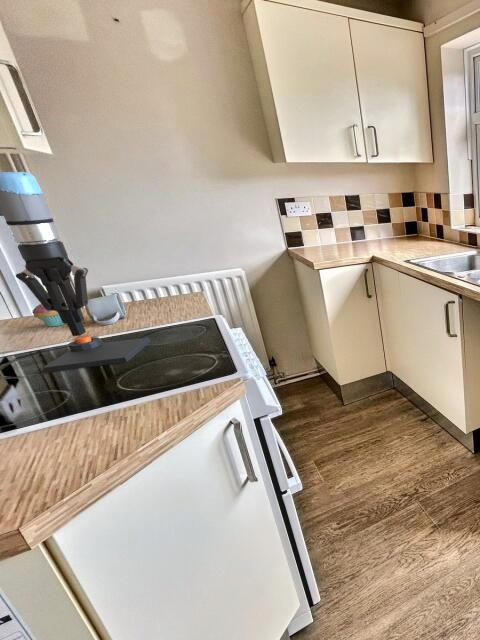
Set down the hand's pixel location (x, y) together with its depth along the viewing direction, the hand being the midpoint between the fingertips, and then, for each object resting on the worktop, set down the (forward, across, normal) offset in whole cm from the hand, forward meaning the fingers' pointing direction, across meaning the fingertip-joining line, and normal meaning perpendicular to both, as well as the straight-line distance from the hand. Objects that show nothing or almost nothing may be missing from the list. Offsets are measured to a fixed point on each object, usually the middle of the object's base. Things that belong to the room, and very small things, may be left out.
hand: (79, 334), depth 109 cm
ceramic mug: (+5, +7, -29) cm, 30 cm away
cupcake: (+6, +21, -31) cm, 38 cm away
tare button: (+2, 0, 0) cm, 2 cm away
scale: (+5, -5, +5) cm, 9 cm away
